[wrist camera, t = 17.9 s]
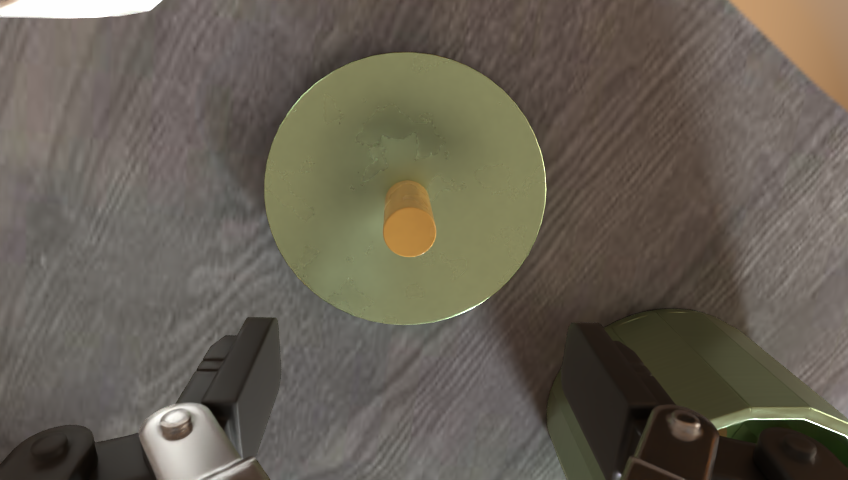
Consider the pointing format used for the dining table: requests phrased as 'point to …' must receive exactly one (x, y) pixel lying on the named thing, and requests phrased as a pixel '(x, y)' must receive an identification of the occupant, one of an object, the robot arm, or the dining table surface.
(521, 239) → the lid
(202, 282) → the dining table surface
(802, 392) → the tin
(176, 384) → the dining table surface
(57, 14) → the white cup
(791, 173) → the dining table surface
